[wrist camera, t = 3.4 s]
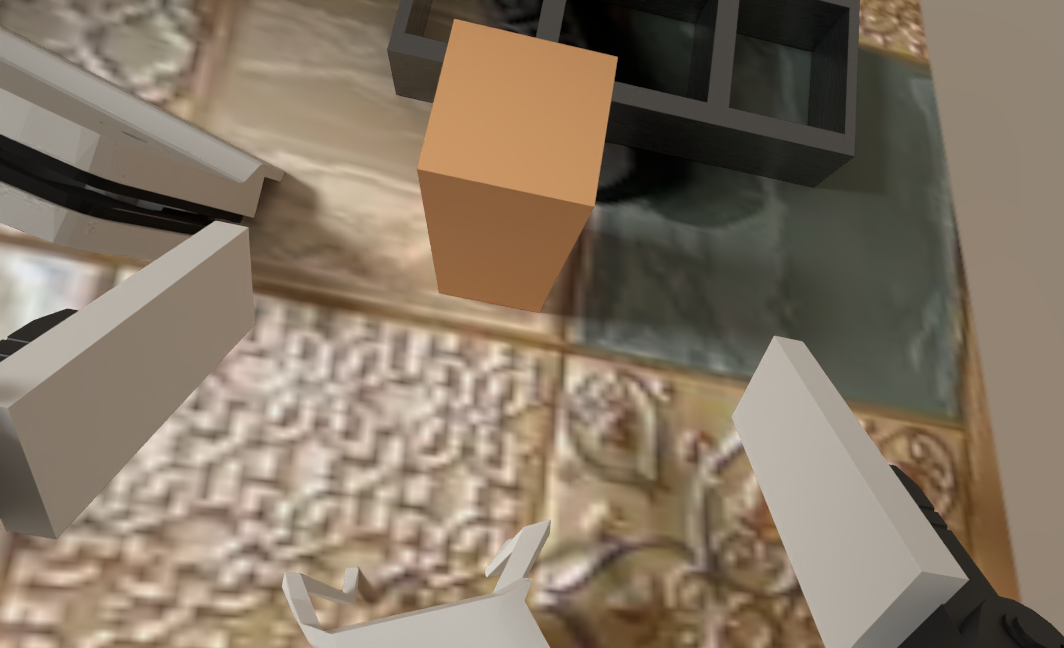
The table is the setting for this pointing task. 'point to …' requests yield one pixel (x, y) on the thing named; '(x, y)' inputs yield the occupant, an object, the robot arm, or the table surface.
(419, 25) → the grey compartment tray
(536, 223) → the square peg
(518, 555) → the origami figure
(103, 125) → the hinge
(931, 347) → the table surface
